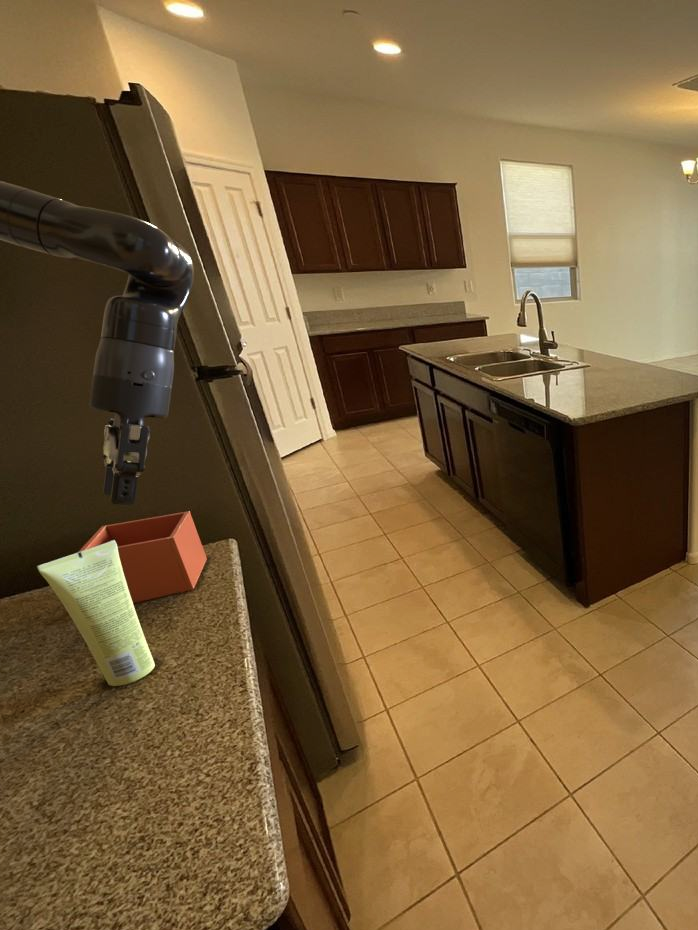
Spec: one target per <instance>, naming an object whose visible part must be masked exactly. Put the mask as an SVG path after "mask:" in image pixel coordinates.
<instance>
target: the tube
mask: <svg viewBox="0 0 698 930" xmlns="http://www.w3.org/2000/svg"><path fill="white" fill-rule="evenodd" d="M36 568H37V571H38V573H39V574H40V575H41V576H42V578H44V579H45V581H46V582H47V583H48V585H49V586H50V587H51V589H52V590H53V592H54V593H55V594H56V596H57V598H58V599H59V601H60V603H61V604H62V606H63V607H64V608H65V611H66V612H67V614H68V615H69V616H70V618H71V620H72V621H73V623H74V624H75V627H76V628H77V630H78V632H79V633H80V635H81V637H82V638H83V640H84V642H85V644H86V645H87V647H88V649H89V651H90V653H91V655H92V657H93V659H94V660H95V662H96V664H97V666H98V669H100V671H101V673H102V675H103V678H104V679H105V681H106V683H107V684H108V686H112V687H119V686H125V685H128V684H131V683H134V682H136V681H138V680H140V679H142V678H143V677H146V676H147V675H148V674H150V673H151V672H152V671H153V670H154V668H155V666H156V665H155V664H156V663H155V660H154V658H153V655H152V653H151V650H150V648H149V645H148V641H147V639H146V637H145V634H144V631H143V629H142V626H141V623H140V620H139V617H138V615H137V612H136V609H135V606H134V603H133V602H132V599H131V596H130V593H129V590H128V586H127V583H126V580H125V576H124V573H123V569H122V566H121V562H120V558H119V553H118V548H117V544H116V542H115V540H113V541H110V542H107V543H104V544H102V545H99V546H96V547H93V548H90V549H87V550H84V551H81V552H79V551H77V552H75V553H73V554H69V555H67V556H63V557H60V558H58V559H54V560H50V561H48V562H45V563H42V564H39V565H37V566H36Z"/></svg>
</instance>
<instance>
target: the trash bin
mask: <svg viewBox="0 0 698 930" xmlns="http://www.w3.org/2000/svg"><path fill="white" fill-rule="evenodd" d="M113 540H115V542H116V544H117V548H118V553H119V558H120V562H121V566H122V569H123V573H124V576H125V580H126V583H127V586H128V590H129V593H130V596H131V599H132V602H133V604H134V603H139V602H143V601H148V600H152V599H157V598H161V597H166V596H170V595H174V594H179V593H183V592H188V591H192V590H194V589H195V587H196V585H197V582H198V580H199V578H200V576H201V573H202V571H203V569H204V567H205V565H206V562H207V560H208V558H207V555H206V553H205V549H204V546H203V543H202V541H201V539H200V536H199V533H198V531H197V528H196V525H195V522H194V519H193V517H192V514H191V511H190V510H188V511H181V512H177V513H171V514H164V515H159V516H153V517H148V518H141V519H136V520H129V521H124V522H119V523H112V524H106V525H101V527H100V528H99V529H98V530H96V532H95V533H94V534H93V535H92V537H90V538H89V540H88V541H86V543H85V544H84V545H83V546H82V547H81V548H80V549H79V550H78V552H81V551H84V550H87V549H90V548H93V547H96V546H99V545H102V544H104V543H107V542H110V541H113Z"/></svg>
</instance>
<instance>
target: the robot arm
mask: <svg viewBox="0 0 698 930" xmlns="http://www.w3.org/2000/svg"><path fill="white" fill-rule="evenodd" d="M0 241H2V242H6V243H9V244H12V245H15V246H19V247H22V248H25V249H28V250H33V251H36V252H39V253H43V254H45V255H46V254H47V255H49V256H53V257H57V258H60V259H64V260H69V261H75V262H91V263H95V264H97V265H101V266H104V267H108V268H111V269H114V270H117V271H119V272H122V273H124V274H127V275H128V278H127V280H126V285H125V288H124V291H123V293H122V295H114V296H112V297H110V298H108V300H107V302H106V305H105V308H104V312H103V319H102V326H101V334H100V337H101V338H100V341H99V345H98V347H97V350H96V353H95V359H94V364H93V365H94V366H93V374H92V382H91V386H90V387H91V388H90V396H89V403H88V404H89V407H90V409H92V410H95V411H101V412H107V413H113V414H114V417H113V418H109V420H108V421H107V425H105V426H104V431H103V437H104V442H103V446H102V452H103V455H102V459H103V464H104V467H105V474H104V481H103V487H102V488H103V489H102V491H103V494H104V495H107V496H110V499H109V500H110V502H111V504H113V505H124V506H125V505H127V506H130V505H131V506H132V505H134V504H135V503H136V497H137V492H138V485H139V484H138V483H139V477H140V476H141V475H142V474H143V473H144V472H145V470H146V465H145V464H146V458H147V455H148V443H149V440H150V435H151V433H150V431H151V429H150V427H149V425H145V419H146V418H154V419H166V418H167V417H168V416H169V412H170V411H169V410H170V405H171V403H170V402H171V396H172V389H173V381H174V373H175V353H174V352H175V346H176V339H177V331H178V321H179V319H180V316H181V314H182V312H183V311H184V308H185V306H186V304H187V301H188V298H189V297H190V293H191V290H192V288H193V284H194V276H195V269H194V263H193V259H192V257H191V255H190V254H189V252H188V251H187V250H186V249H185V247H183V246H182V245H181V244H180V243H178V242H177V241H176V240H175V239H173V238H172V237H171V236H169V235H168V234H167V233H166V232H164V231H163V230H161V229H160V228H158V227H157V226H155V225H153V224H151V223H149V222H147V221H144V220H142V219H139V218H137V217H133V216H131V215H126V214H123V213H120V212H115V211H110V210H106V209H100V208H95V207H90V206H81V205H78V204H75V203H72V202H70V201H68V200H64V199H61V198H57V197H55V196H52V195H49V194H45V193H42V192H39V191H36V190H33V189H30V188H26V187H23V186H20V185H16V184H13V183H9V182H7V181H3V180H0Z"/></svg>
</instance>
